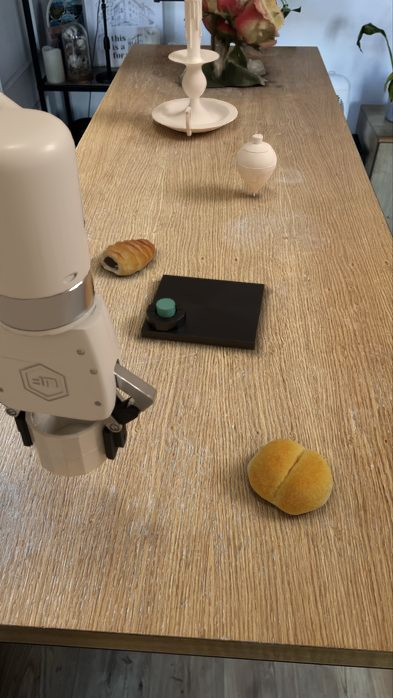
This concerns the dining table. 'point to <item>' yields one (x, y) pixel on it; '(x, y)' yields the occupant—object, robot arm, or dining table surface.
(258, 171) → the spinning top
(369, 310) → the dining table surface
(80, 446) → the beige cup
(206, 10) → the rose bouquet
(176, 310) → the scale
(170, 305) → the button
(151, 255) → the pastry
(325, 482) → the bread roll
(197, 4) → the candlestick
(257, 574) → the dining table surface
